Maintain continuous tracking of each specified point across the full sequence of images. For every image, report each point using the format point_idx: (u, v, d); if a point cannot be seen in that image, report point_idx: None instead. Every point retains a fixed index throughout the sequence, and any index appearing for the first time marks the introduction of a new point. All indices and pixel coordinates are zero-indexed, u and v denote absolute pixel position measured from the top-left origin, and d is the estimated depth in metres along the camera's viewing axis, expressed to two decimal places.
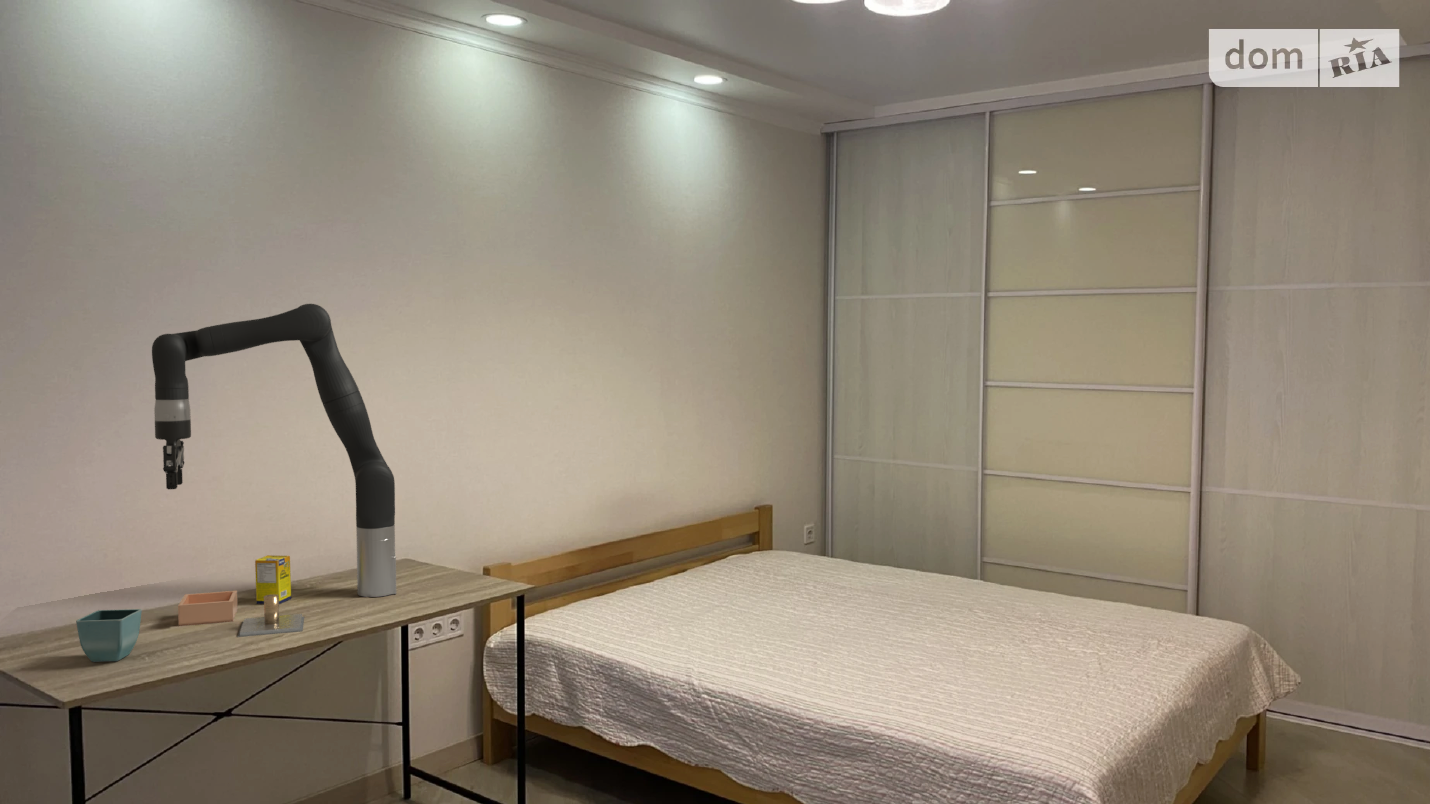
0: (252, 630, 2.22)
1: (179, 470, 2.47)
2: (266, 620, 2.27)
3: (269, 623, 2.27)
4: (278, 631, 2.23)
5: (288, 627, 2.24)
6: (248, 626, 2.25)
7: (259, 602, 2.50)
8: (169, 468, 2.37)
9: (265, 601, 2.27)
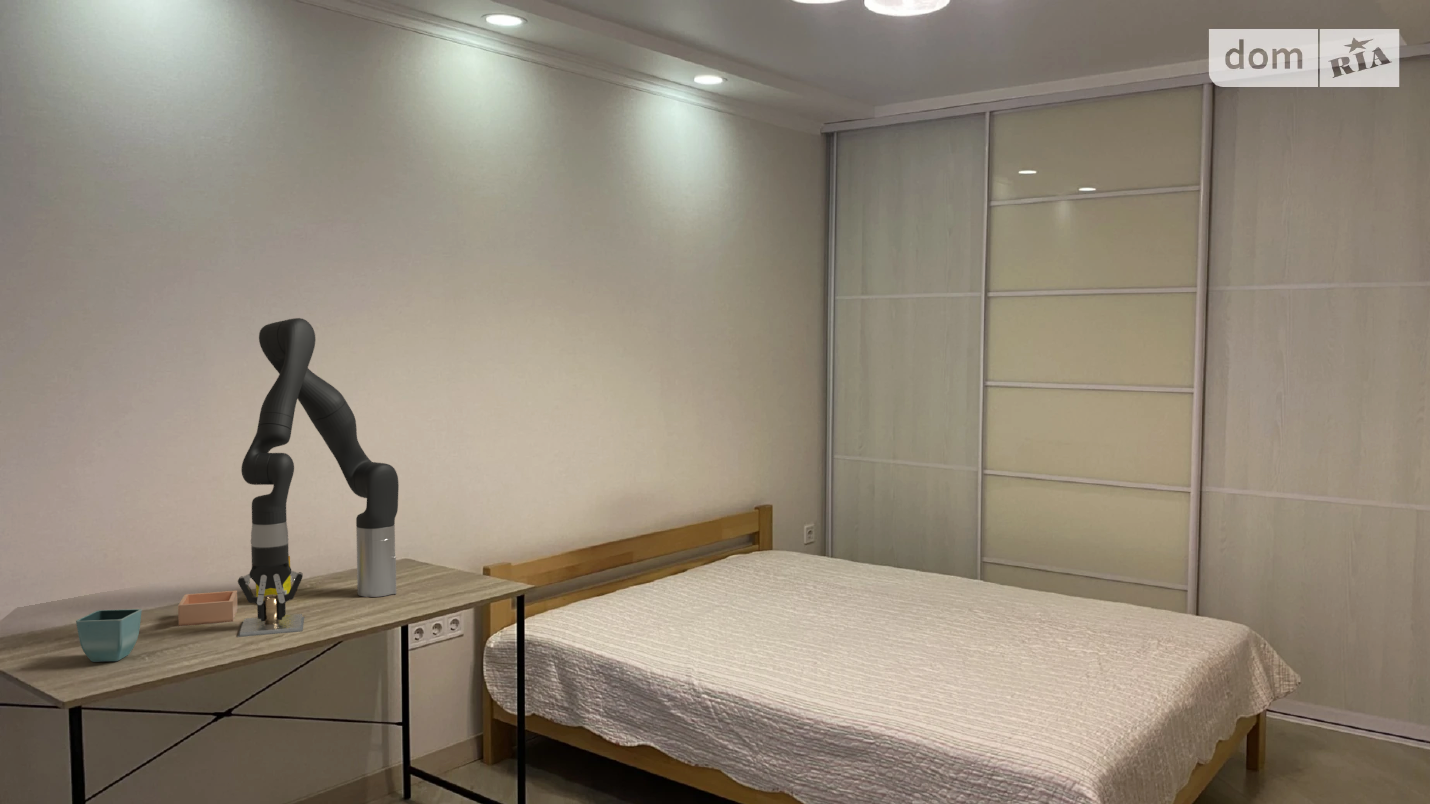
0: (252, 630, 2.22)
1: None
2: (266, 620, 2.27)
3: (269, 623, 2.27)
4: (278, 631, 2.23)
5: (288, 627, 2.24)
6: (248, 626, 2.25)
7: None
8: None
9: (265, 601, 2.27)
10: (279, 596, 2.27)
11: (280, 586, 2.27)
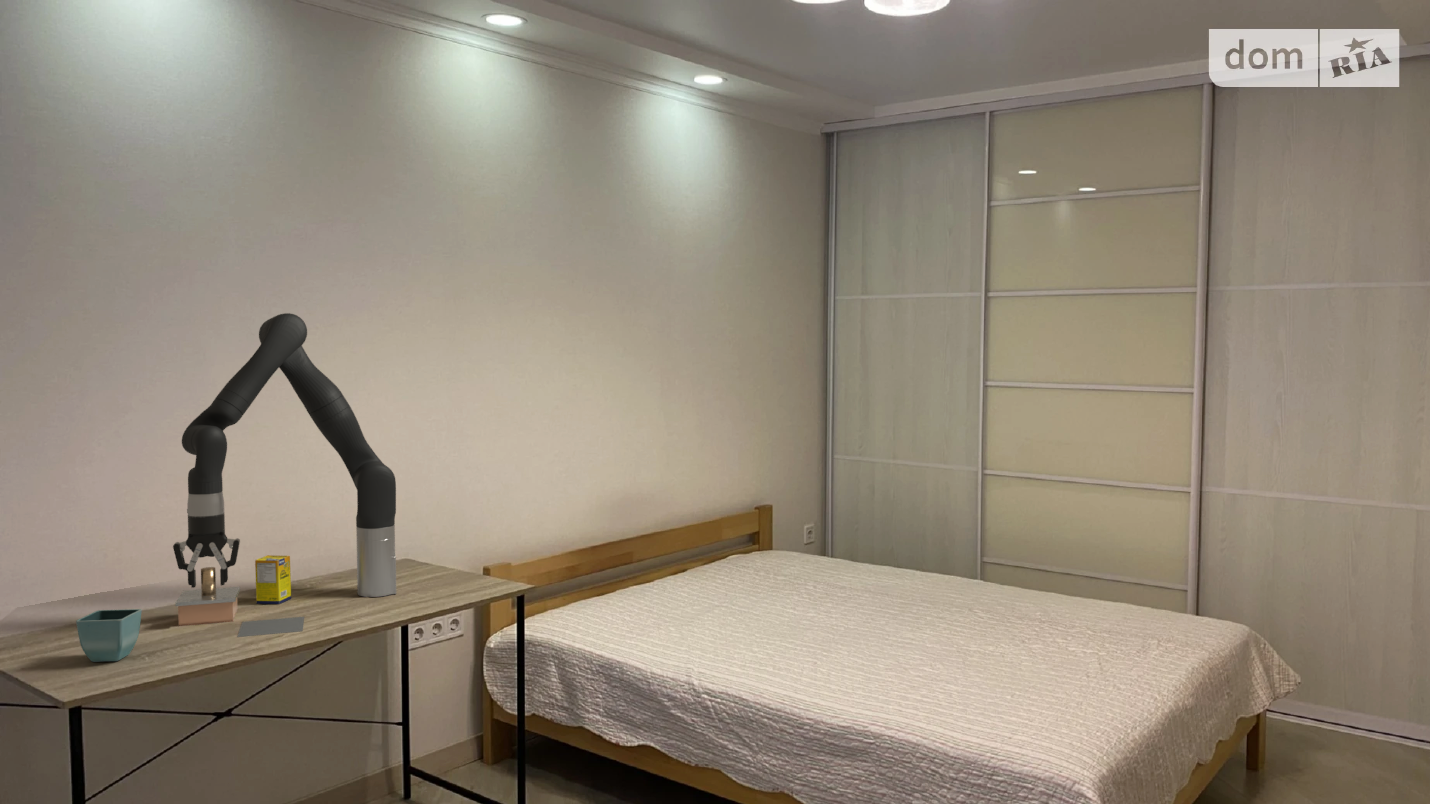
0: (188, 601, 2.29)
1: (195, 571, 2.35)
2: (203, 591, 2.34)
3: (206, 594, 2.34)
4: (213, 602, 2.30)
5: (223, 598, 2.32)
6: (185, 597, 2.32)
7: (259, 602, 2.50)
8: None
9: (202, 573, 2.34)
10: (220, 563, 2.35)
11: (218, 553, 2.34)
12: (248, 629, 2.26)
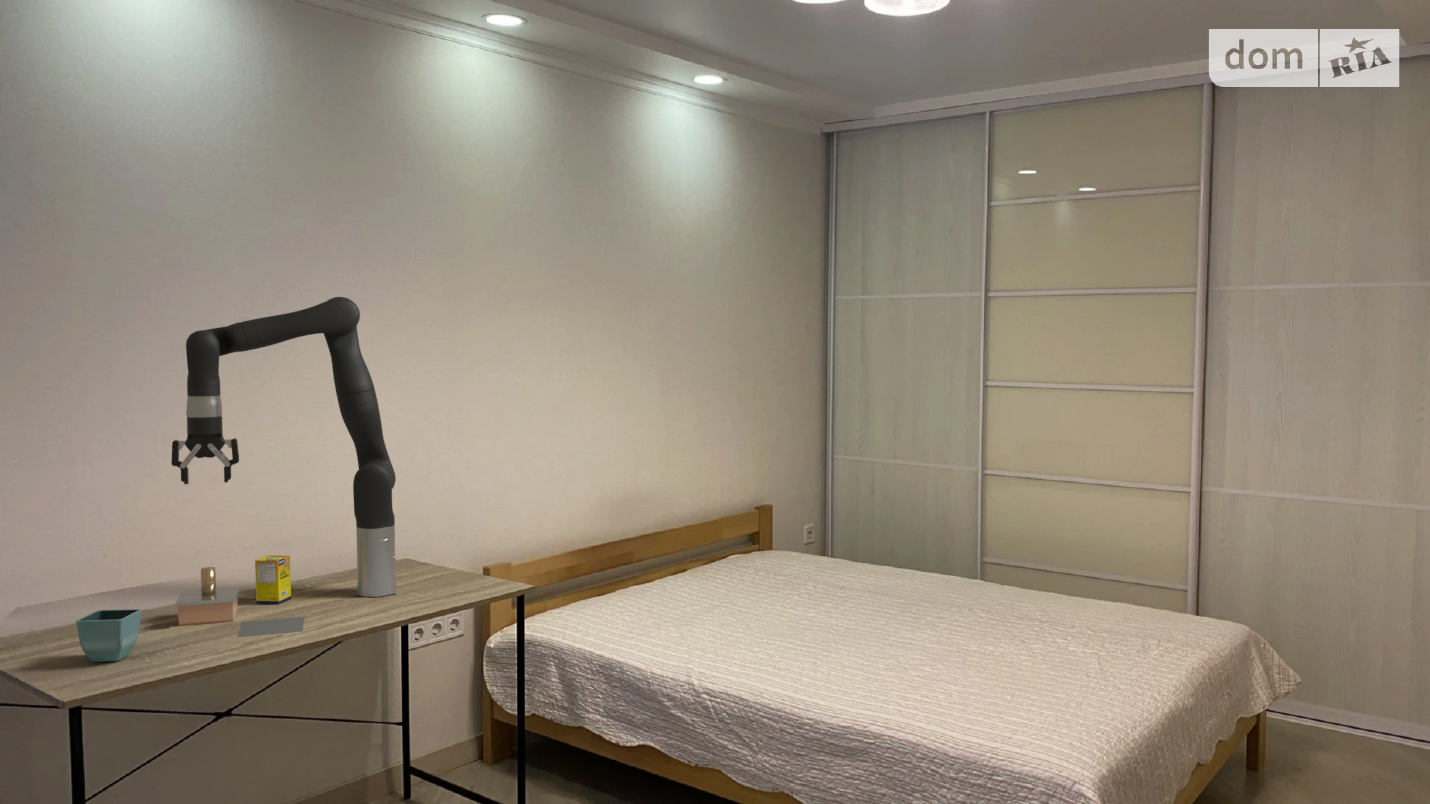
0: (188, 601, 2.29)
1: (187, 469, 2.43)
2: (203, 591, 2.34)
3: (206, 594, 2.34)
4: (213, 602, 2.30)
5: (223, 598, 2.32)
6: (185, 597, 2.32)
7: (259, 602, 2.50)
8: (238, 460, 2.46)
9: (202, 573, 2.34)
10: (223, 461, 2.44)
11: (218, 452, 2.43)
12: (248, 629, 2.26)
